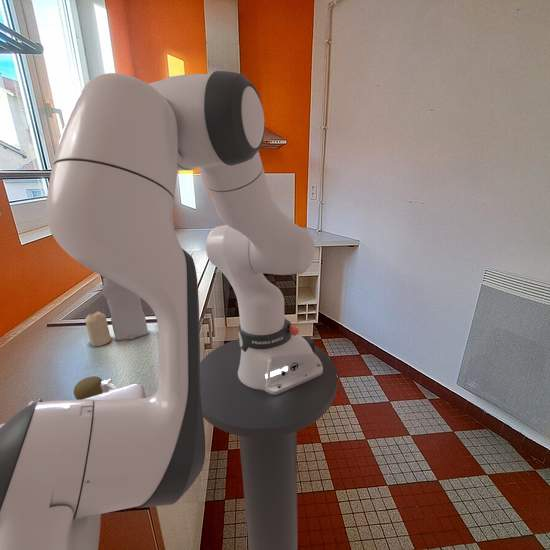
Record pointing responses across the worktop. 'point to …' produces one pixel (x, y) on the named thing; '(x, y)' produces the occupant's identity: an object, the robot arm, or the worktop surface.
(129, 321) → the grey tall flat block
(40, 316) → the worktop surface
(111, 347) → the worktop surface
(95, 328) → the candle
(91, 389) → the cork
